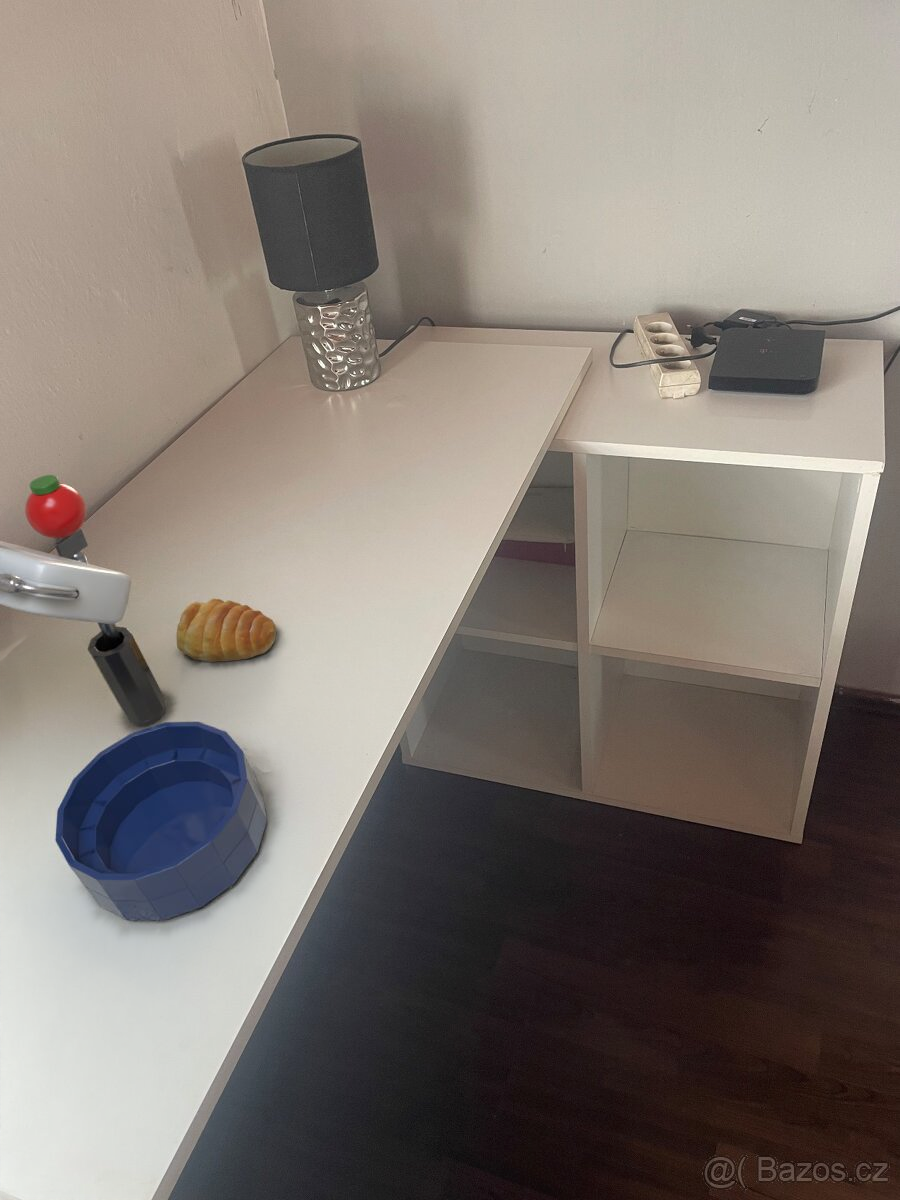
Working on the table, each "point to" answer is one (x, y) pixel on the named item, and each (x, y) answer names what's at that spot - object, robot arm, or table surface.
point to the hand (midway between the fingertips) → (86, 581)
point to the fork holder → (129, 678)
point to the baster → (63, 527)
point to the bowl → (162, 820)
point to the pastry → (224, 631)
